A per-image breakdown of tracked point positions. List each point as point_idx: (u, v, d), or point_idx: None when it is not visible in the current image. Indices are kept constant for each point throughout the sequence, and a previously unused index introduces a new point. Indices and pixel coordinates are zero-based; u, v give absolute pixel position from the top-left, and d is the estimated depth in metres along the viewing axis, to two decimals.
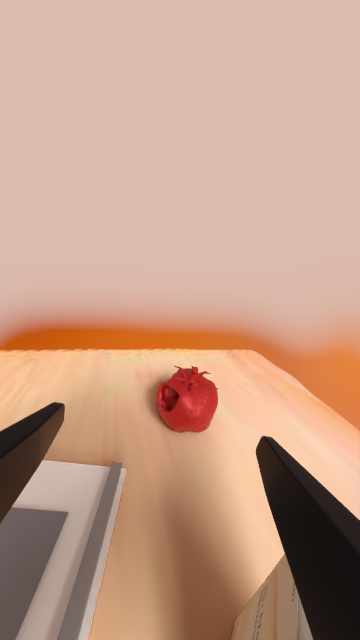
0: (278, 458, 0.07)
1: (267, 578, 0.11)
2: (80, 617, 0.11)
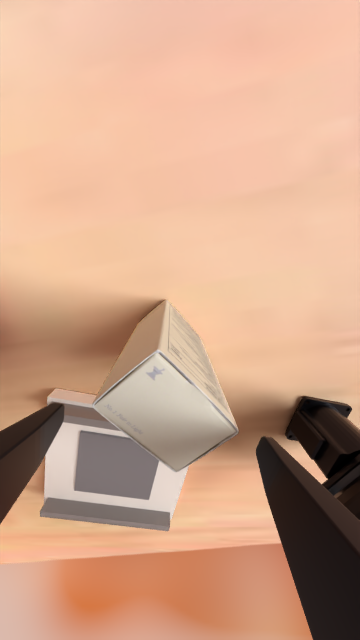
0: (278, 458, 0.07)
1: None
2: None
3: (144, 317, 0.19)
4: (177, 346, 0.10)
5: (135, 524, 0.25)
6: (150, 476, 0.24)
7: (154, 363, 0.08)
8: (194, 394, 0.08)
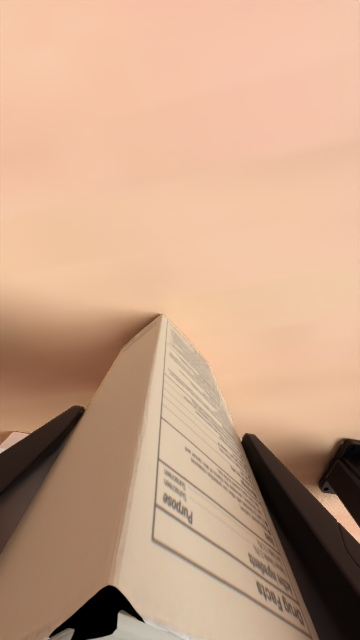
0: (258, 455, 0.07)
1: None
2: None
3: (131, 339, 0.13)
4: (180, 458, 0.04)
5: None
6: None
7: None
8: None
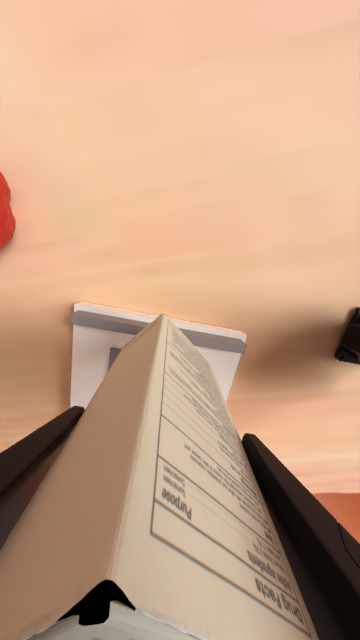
0: (258, 455, 0.07)
1: None
2: None
3: (132, 338, 0.14)
4: (180, 454, 0.04)
5: None
6: None
7: (93, 631, 0.02)
8: None
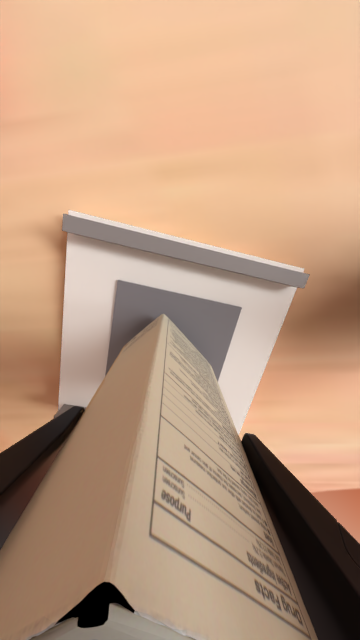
0: (258, 455, 0.07)
1: None
2: (194, 247, 0.12)
3: (132, 339, 0.14)
4: (179, 455, 0.04)
5: None
6: (216, 365, 0.16)
7: (91, 633, 0.02)
8: None
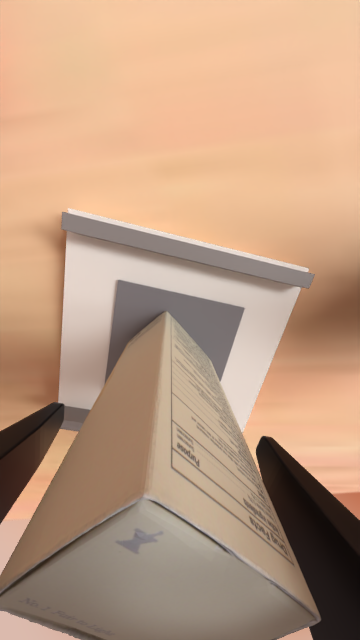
0: (278, 458, 0.07)
1: None
2: (197, 246, 0.12)
3: None
4: (188, 423, 0.05)
5: None
6: (218, 367, 0.16)
7: (135, 523, 0.03)
8: (233, 571, 0.04)
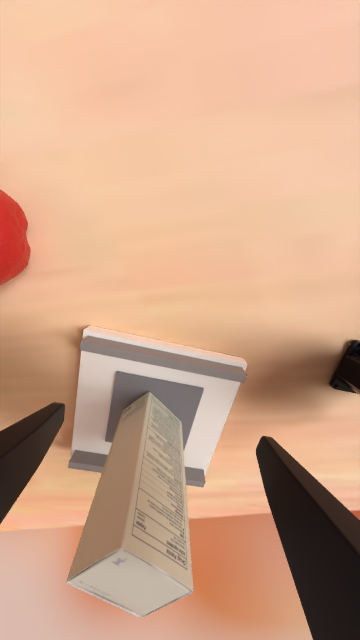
0: (278, 458, 0.07)
1: None
2: (167, 359, 0.18)
3: (128, 407, 0.21)
4: (144, 505, 0.12)
5: None
6: (187, 426, 0.22)
7: (117, 556, 0.09)
8: (153, 572, 0.10)
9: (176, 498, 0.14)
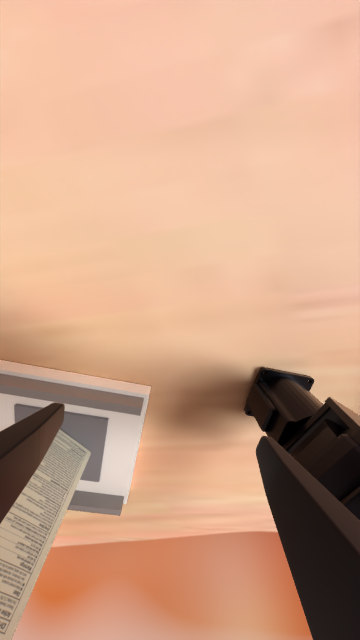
0: (278, 458, 0.07)
1: None
2: (57, 394, 0.18)
3: None
4: None
5: (83, 508, 0.23)
6: (97, 455, 0.22)
7: None
8: None
9: (31, 547, 0.14)
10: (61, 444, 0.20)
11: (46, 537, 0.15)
